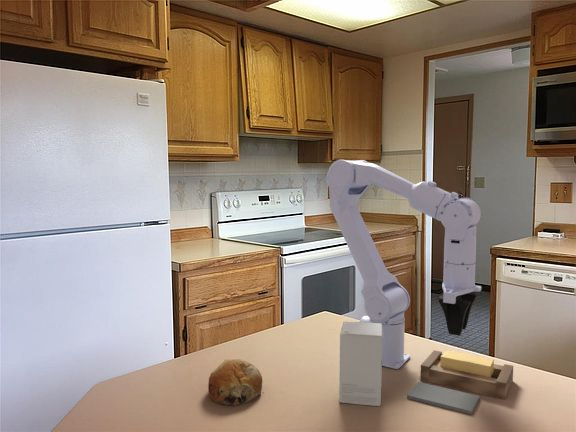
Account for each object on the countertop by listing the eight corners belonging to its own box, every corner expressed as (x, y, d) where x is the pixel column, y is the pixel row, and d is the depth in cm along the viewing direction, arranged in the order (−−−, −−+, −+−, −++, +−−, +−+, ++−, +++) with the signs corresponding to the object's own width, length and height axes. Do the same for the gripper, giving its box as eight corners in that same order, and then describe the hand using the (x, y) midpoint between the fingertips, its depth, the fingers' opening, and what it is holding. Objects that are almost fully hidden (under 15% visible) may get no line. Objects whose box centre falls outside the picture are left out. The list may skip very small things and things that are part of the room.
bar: (440, 369, 95) (440, 356, 95) (445, 362, 98) (446, 350, 98) (489, 379, 90) (490, 366, 90) (493, 371, 94) (494, 359, 93)
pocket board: (420, 380, 95) (420, 365, 94) (433, 364, 102) (433, 350, 102) (505, 399, 87) (506, 383, 86) (512, 380, 94) (513, 365, 94)
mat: (407, 398, 87) (407, 395, 87) (418, 384, 93) (418, 381, 93) (471, 414, 81) (471, 411, 81) (479, 399, 87) (479, 396, 87)
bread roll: (267, 408, 91) (273, 364, 94) (246, 409, 82) (254, 360, 85) (219, 400, 95) (226, 357, 97) (194, 400, 85) (203, 353, 88)
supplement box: (381, 407, 84) (382, 335, 83) (338, 403, 86) (338, 333, 84) (381, 388, 91) (382, 322, 90) (342, 384, 93) (342, 320, 92)
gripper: (473, 271, 85) (470, 346, 86) (489, 258, 97) (486, 324, 99) (432, 266, 89) (430, 339, 90) (452, 254, 101) (450, 318, 102)
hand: (457, 331), depth 95 cm, fingers open, 3 cm apart
